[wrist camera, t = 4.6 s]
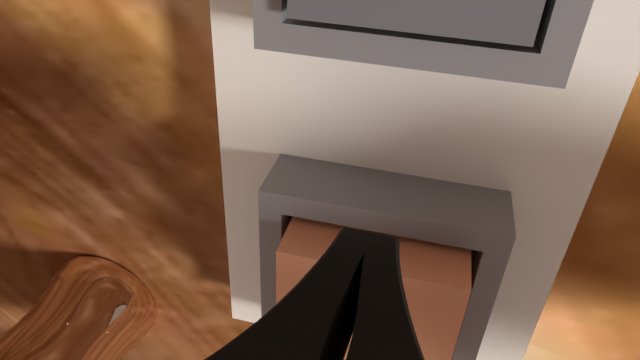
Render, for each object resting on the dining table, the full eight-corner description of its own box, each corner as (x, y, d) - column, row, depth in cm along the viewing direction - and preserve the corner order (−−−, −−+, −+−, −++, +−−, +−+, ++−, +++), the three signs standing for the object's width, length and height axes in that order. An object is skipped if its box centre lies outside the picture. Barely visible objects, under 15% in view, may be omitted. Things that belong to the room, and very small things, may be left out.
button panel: (793, -403, 11) (957, -529, 7) (510, 345, 24) (517, 435, 20) (214, -388, 13) (115, -478, 9) (247, 288, 26) (211, 360, 23)
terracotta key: (471, 228, 18) (471, 290, 15) (441, 344, 21) (436, 410, 18) (301, 198, 19) (275, 251, 16) (298, 312, 22) (276, 371, 20)
